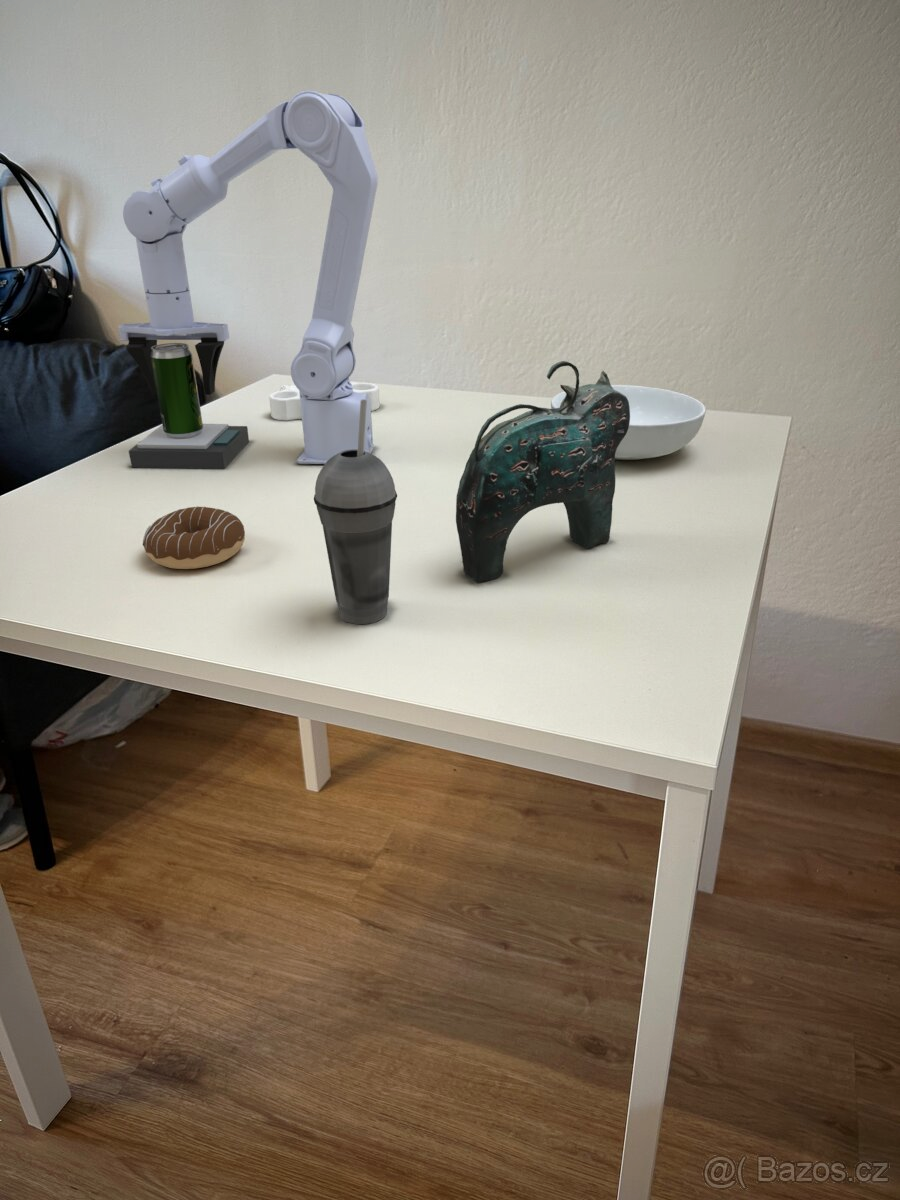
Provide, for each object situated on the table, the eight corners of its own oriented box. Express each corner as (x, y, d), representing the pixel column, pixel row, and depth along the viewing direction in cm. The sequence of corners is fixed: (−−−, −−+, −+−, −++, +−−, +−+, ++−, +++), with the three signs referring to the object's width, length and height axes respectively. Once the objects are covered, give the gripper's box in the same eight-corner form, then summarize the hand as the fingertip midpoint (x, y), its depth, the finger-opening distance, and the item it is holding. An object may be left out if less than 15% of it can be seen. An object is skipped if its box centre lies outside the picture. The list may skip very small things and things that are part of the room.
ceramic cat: (592, 525, 98) (606, 346, 88) (633, 545, 93) (651, 357, 84) (447, 569, 88) (444, 373, 79) (484, 593, 83) (486, 388, 74)
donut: (268, 550, 93) (263, 516, 91) (184, 585, 86) (178, 548, 84) (208, 526, 99) (203, 493, 97) (126, 556, 92) (119, 522, 90)
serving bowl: (693, 482, 110) (700, 430, 107) (533, 467, 116) (535, 416, 113) (704, 435, 127) (711, 389, 124) (565, 424, 133) (567, 379, 130)
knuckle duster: (364, 392, 151) (389, 414, 139) (262, 403, 146) (278, 426, 134) (363, 373, 150) (388, 393, 138) (260, 383, 144) (275, 405, 132)
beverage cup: (325, 596, 83) (307, 390, 74) (400, 592, 84) (392, 387, 75) (322, 633, 77) (301, 414, 68) (403, 629, 78) (394, 410, 68)
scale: (249, 441, 127) (246, 421, 126) (224, 469, 117) (221, 447, 115) (163, 440, 128) (160, 421, 127) (131, 467, 118) (127, 446, 116)
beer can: (171, 441, 118) (155, 352, 112) (159, 432, 122) (144, 345, 116) (209, 434, 120) (196, 347, 115) (196, 425, 124) (183, 340, 119)
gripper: (101, 295, 111) (121, 399, 118) (211, 295, 110) (225, 400, 117) (123, 287, 117) (141, 386, 124) (227, 287, 116) (240, 387, 123)
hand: (183, 392), depth 121 cm, fingers open, 7 cm apart
